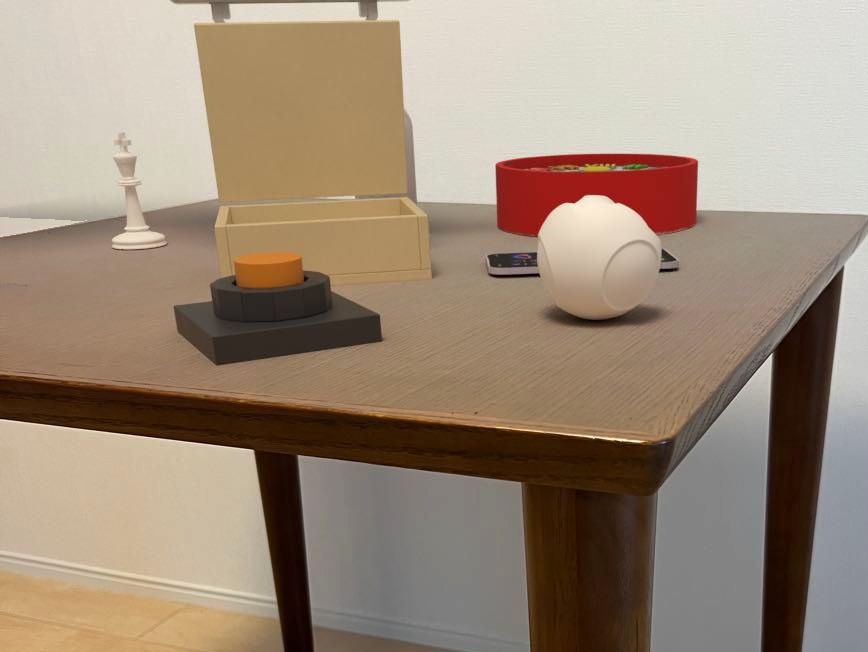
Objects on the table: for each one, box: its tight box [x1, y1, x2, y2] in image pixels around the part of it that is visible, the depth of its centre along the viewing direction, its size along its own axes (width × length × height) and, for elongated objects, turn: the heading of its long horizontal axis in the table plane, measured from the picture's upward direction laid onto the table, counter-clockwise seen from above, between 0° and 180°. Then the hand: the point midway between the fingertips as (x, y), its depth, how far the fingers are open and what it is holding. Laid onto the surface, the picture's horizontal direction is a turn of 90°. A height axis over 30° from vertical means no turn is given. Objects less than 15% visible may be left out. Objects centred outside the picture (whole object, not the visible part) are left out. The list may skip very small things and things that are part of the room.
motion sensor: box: [536, 195, 662, 321], centre depth 69 cm, size 8×8×8 cm
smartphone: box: [485, 247, 680, 276], centre depth 88 cm, size 8×1×15 cm
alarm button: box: [234, 252, 304, 288], centre depth 66 cm, size 4×4×2 cm
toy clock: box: [494, 153, 699, 237], centre depth 109 cm, size 20×6×20 cm
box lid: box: [193, 19, 408, 203], centre depth 89 cm, size 13×16×4 cm
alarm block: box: [173, 270, 383, 367], centre depth 67 cm, size 10×10×4 cm
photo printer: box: [354, 107, 418, 206], centre depth 111 cm, size 10×4×12 cm, turn 27°
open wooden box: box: [213, 197, 433, 287], centre depth 87 cm, size 13×16×5 cm
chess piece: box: [111, 132, 168, 251], centre depth 101 cm, size 5×5×10 cm
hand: (301, 65), depth 90 cm, fingers open, 8 cm apart
